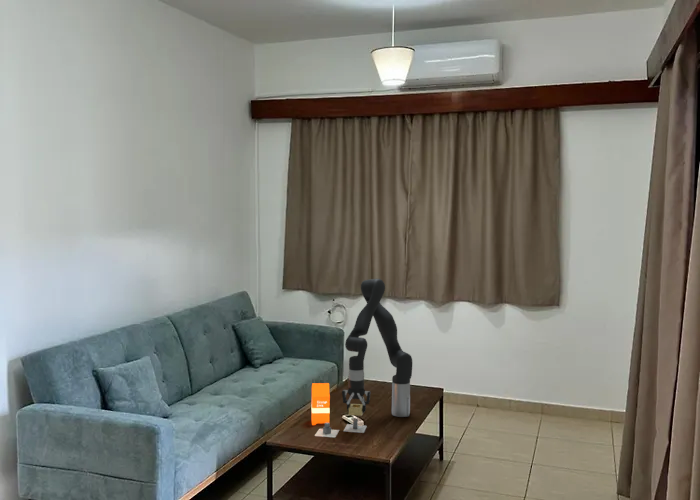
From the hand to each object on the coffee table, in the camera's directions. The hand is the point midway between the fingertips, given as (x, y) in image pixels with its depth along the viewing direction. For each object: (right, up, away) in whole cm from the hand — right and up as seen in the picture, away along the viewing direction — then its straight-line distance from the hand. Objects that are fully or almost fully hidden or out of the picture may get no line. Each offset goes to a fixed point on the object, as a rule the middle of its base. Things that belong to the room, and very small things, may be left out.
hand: (356, 411), depth 321 cm
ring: (0, -1, 0) cm, 1 cm away
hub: (-14, -9, -6) cm, 18 cm away
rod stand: (0, -9, +1) cm, 9 cm away
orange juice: (-18, -8, +11) cm, 23 cm away
